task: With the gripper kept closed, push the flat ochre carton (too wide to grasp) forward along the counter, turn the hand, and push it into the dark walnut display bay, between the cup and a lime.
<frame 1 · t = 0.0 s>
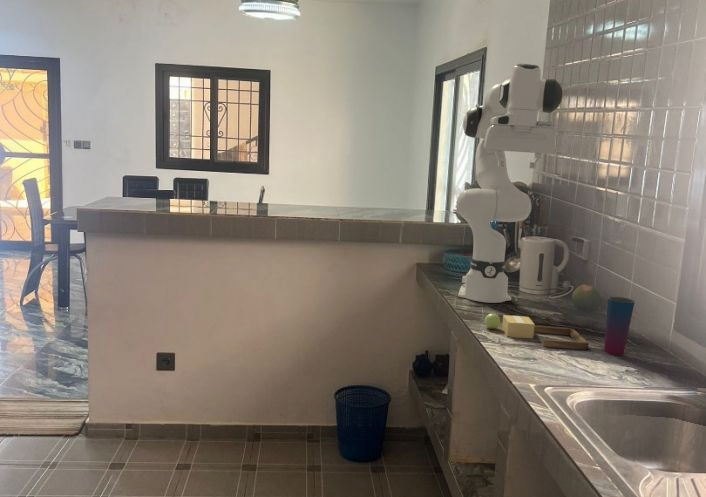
hand: (516, 167, 191), 48 cm above the counter, fingers open, 8 cm apart
cup: (613, 352, 177), on the counter
carton: (517, 334, 189), on the counter
lime: (491, 328, 193), on the counter
display bay: (556, 339, 185), on the counter
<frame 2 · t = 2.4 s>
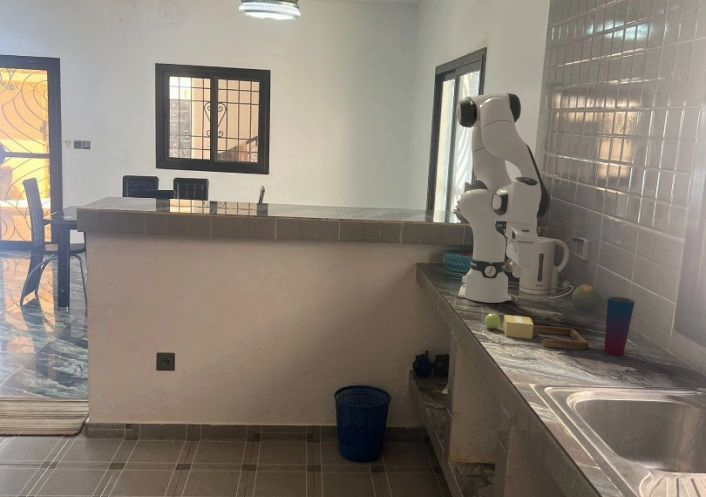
hand: (516, 276, 196), 15 cm above the counter, fingers closed
nothing on the counter moved.
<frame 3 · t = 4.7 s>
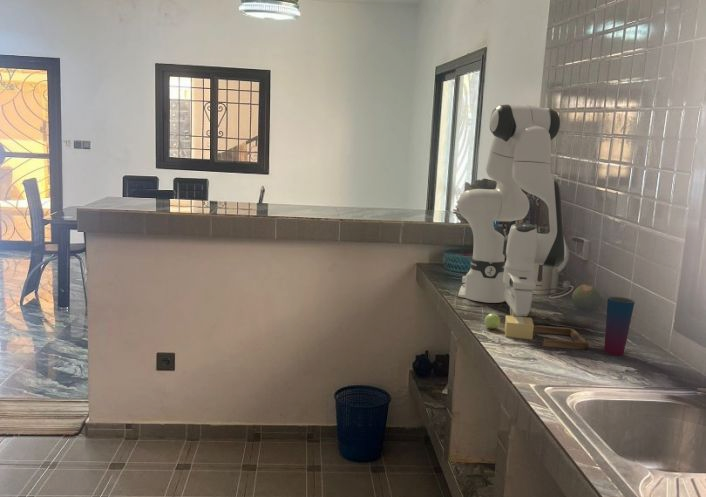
hand: (513, 322, 194), 2 cm above the counter, fingers closed
carton: (517, 334, 189), on the counter, touching gripper
everything else where it was.
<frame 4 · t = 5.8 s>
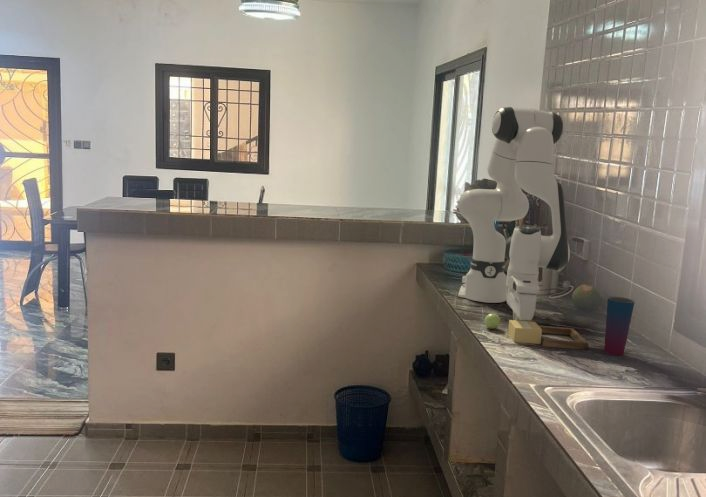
hand: (517, 326, 190), 2 cm above the counter, fingers closed
carton: (523, 339, 185), on the counter
everything else where it was.
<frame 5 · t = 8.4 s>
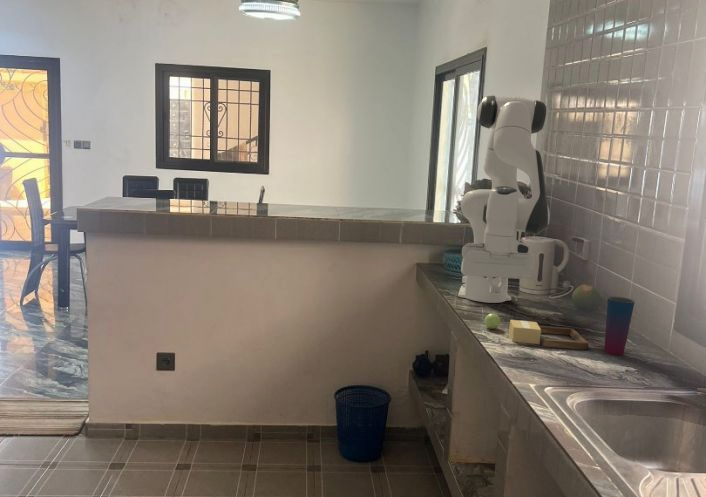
hand: (495, 292, 183), 13 cm above the counter, fingers closed
nothing on the counter moved.
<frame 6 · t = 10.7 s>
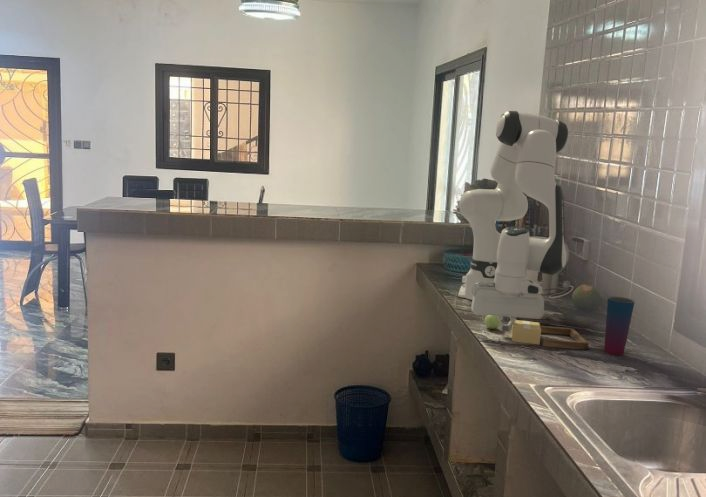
hand: (504, 330, 185), 2 cm above the counter, fingers closed
carton: (524, 339, 184), on the counter, touching gripper
everything else where it was.
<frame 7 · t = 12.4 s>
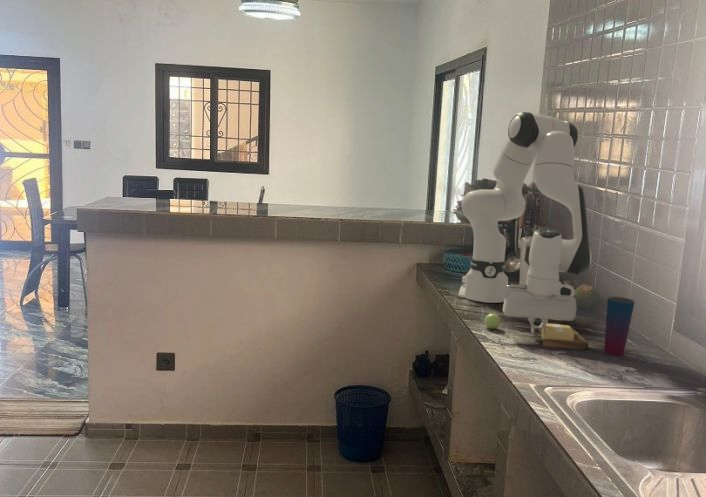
hand: (536, 332, 185), 2 cm above the counter, fingers closed
carton: (556, 342, 184), on the counter
everything else where it was.
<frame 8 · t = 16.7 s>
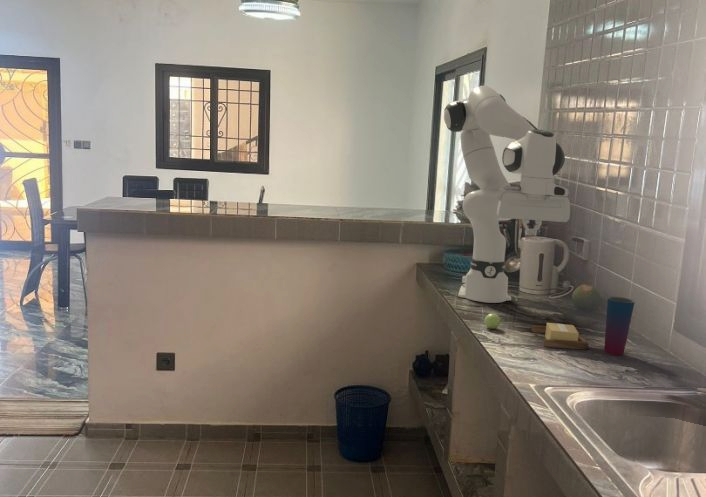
hand: (530, 235, 185), 29 cm above the counter, fingers closed
carton: (560, 342, 184), on the counter
everything else where it was.
at the end: carton inside the target area on the display bay (2.2 cm from its centre), point 0.0 cm above the display bay's base; carton tilted 0° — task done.
